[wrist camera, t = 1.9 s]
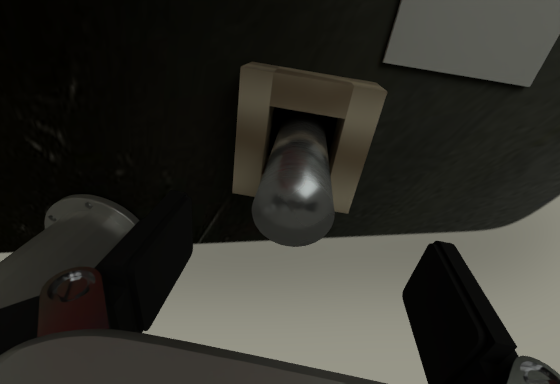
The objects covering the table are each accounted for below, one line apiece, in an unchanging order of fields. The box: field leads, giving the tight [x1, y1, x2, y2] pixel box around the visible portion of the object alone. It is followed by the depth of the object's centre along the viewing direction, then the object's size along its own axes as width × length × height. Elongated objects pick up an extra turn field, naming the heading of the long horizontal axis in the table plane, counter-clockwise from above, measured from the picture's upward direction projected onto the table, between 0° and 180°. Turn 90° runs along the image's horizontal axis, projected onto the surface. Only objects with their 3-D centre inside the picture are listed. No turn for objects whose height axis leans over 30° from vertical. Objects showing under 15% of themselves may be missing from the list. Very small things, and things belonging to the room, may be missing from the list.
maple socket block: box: [232, 62, 387, 214], centre depth 23 cm, size 10×10×4 cm
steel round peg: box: [252, 111, 335, 247], centre depth 19 cm, size 4×4×13 cm
